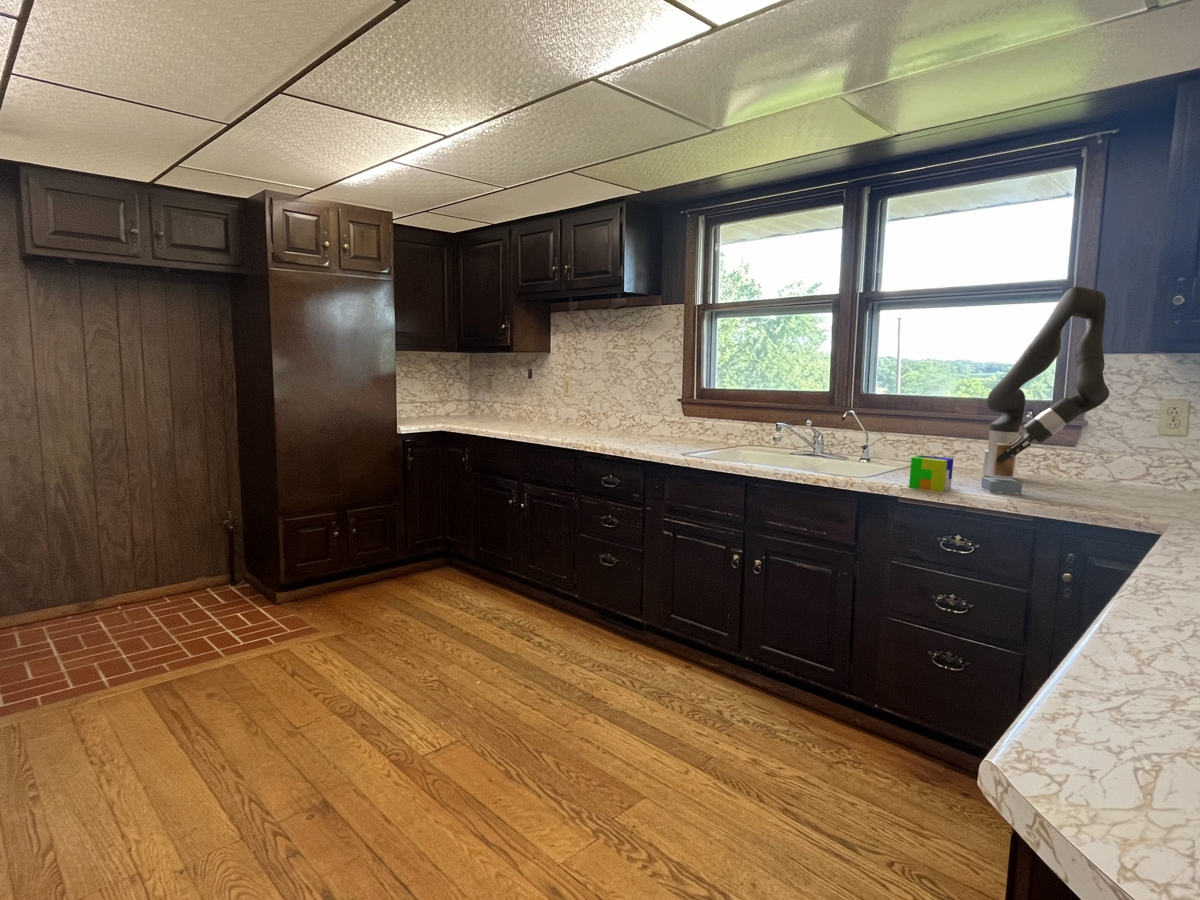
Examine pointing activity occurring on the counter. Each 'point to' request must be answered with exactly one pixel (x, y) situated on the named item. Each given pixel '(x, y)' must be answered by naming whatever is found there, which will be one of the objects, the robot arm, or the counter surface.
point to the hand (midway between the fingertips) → (997, 460)
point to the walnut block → (1007, 465)
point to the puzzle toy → (931, 473)
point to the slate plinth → (1001, 485)
